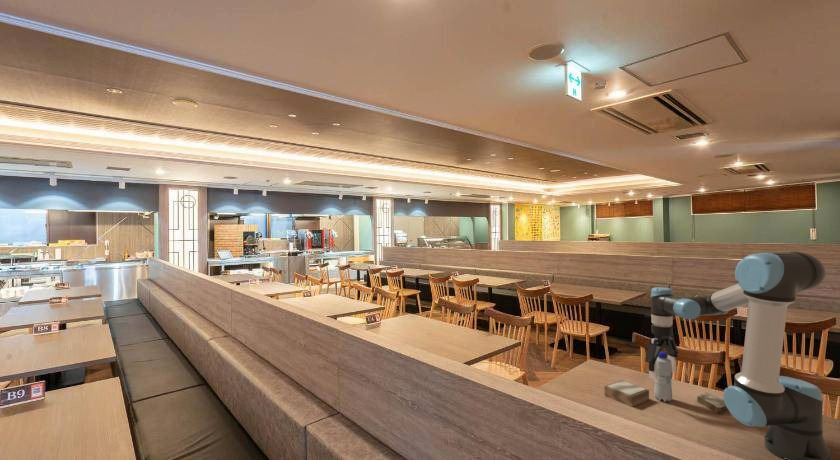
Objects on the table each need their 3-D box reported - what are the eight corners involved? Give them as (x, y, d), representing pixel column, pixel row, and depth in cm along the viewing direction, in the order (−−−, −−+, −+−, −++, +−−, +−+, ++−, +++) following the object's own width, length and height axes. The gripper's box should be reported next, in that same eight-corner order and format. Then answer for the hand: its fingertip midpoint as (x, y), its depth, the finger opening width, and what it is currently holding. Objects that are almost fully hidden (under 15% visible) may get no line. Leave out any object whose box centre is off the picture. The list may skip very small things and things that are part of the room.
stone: (690, 398, 160) (689, 390, 160) (709, 397, 160) (709, 390, 160) (718, 415, 145) (718, 407, 145) (739, 414, 145) (739, 406, 145)
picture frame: (649, 399, 158) (648, 389, 158) (631, 406, 152) (631, 396, 152) (621, 389, 169) (621, 379, 169) (604, 395, 163) (604, 385, 163)
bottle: (650, 398, 160) (649, 350, 159) (660, 394, 162) (659, 348, 162) (666, 404, 154) (665, 355, 153) (676, 401, 156) (675, 352, 156)
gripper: (669, 318, 167) (669, 366, 168) (635, 327, 155) (635, 378, 156) (687, 322, 161) (688, 371, 161) (653, 331, 149) (654, 385, 149)
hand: (662, 375), depth 158 cm, fingers open, 13 cm apart
